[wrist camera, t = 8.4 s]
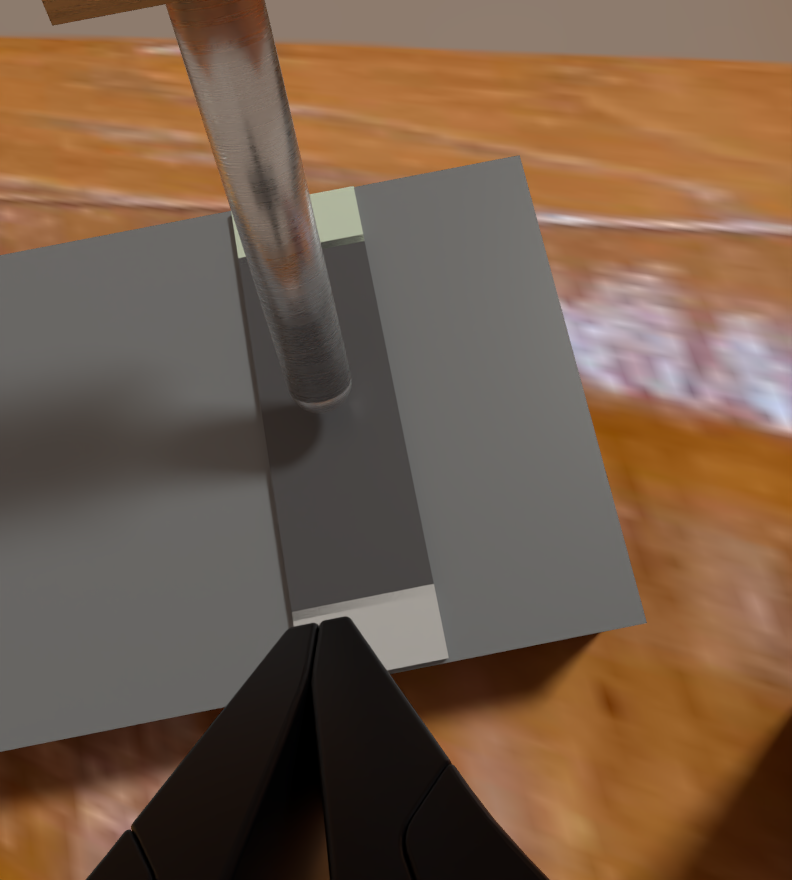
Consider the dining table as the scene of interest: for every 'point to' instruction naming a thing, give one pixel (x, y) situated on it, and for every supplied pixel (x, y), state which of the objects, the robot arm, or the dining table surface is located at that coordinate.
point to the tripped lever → (257, 179)
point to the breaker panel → (291, 458)
